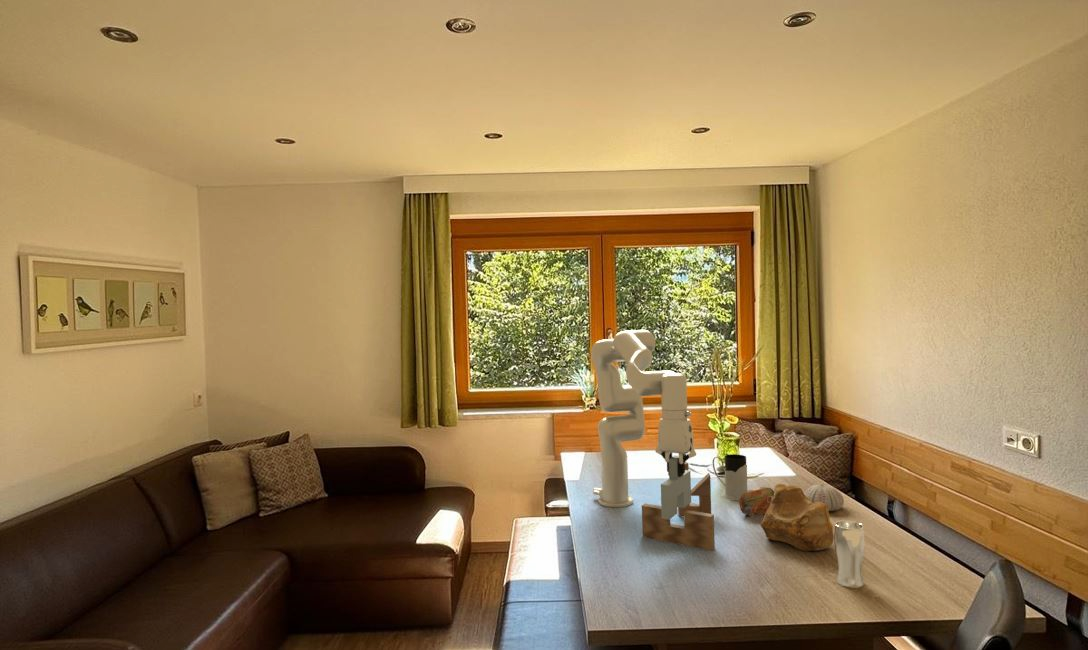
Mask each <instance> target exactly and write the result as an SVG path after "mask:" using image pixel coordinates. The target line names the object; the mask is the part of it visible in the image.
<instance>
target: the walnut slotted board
mask: <svg viewBox="0 0 1088 650" xmlns="http://www.w3.org/2000/svg"><path fill="white" fill-rule="evenodd" d="M683 521H684V522H683V523H684V525H680V524H677V523H671V519H670V520H668V519H662V513H661V505H657V504H652V503H651V504H650V503H643V504H642V505H641V522H642V523H641V528H642V532H641V533H642V538H644V539H650V540H655V541H658V542H665V543H671V544H674V545H675V544H676V545H679V546H680V545H681V546H686V547H690V548H695V549H701V550H707V551H713V550H714V549H715V548H716V547H715V543H716V541H715V514H713V513H711V514H709V513H702V512H696V511H690V510H686V511H685V512H684V516H683Z"/></svg>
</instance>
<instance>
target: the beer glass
mask: <svg viewBox="0 0 1088 650" xmlns="http://www.w3.org/2000/svg"><path fill="white" fill-rule="evenodd" d="M833 536H834V539H833V543H834V548H835V549H834V550H835V555H836V556H835V557H836V560H837V561H836V562H837V566H838V568H837V577H836V582H837V583H838V584H839V585H840V586H842V587H845V588H851V589H859V588H862V587H863V586H864V581H863V576H862V575H863V574H862V566H863V560H864V555H865V548H866V547H865V546H866V545H865V544H866V543H865V540H866V539H865V531H864V525H863V524H862V523H860V522H857V521H853V520H843V519H842V520H837V521H835V523H834V530H833Z"/></svg>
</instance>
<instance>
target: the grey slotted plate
mask: <svg viewBox="0 0 1088 650" xmlns="http://www.w3.org/2000/svg"><path fill="white" fill-rule="evenodd" d="M678 464H679V455H676V454H675V455H672V457H671V458H670V459H669V475H668V479H666V481H664V482H662V483H660V501H661V502H660V506H661V513H662V519H668V520H670V521H671V519H672V518H673V517H675V516H676V515H677V514H678V507H680V508H685V507H686V506H687V505H688V504H690V503H692V496H691V490H692V480H691V479H692V478H691V477H692V476H691V470H685V473H684V475H683V476H681V477H678Z"/></svg>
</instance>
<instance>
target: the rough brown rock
mask: <svg viewBox="0 0 1088 650" xmlns="http://www.w3.org/2000/svg"><path fill="white" fill-rule="evenodd" d="M773 491H774V496H773V499H772V501H771V503H770V506H769V508H768V509H767V511H766V513H764V516H763V518H762V521H761V522H760V527H761V528H762V530H763V532H764V534H765V537H766V538H767V539H769V540H771V541H775V542H779V541H780V542H783V543H786V544H789V545H791V546H793V547H794V548H796V549H798V550H800V551H803V552H808V553H809V551H814V552H817V551H822V550H825V549H826V550H827V549H828V548H829V547H831V546H832V545H833V543H834V529H833V527H834V526H833V525H832V522H831V518H830V517H831V516H830V511H828V507H827V506H826V505H825V504H824V503H822V502H816V503H815V504H813V502H812V501H811V500H810V499H809V498H808V497H806V496H805V495H804V493H805V492H804V491H803V489H802V488H801V487H800V486H797V485H794V484H789V485H786V484H783V483H777V484H776V485H774V490H773Z"/></svg>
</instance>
